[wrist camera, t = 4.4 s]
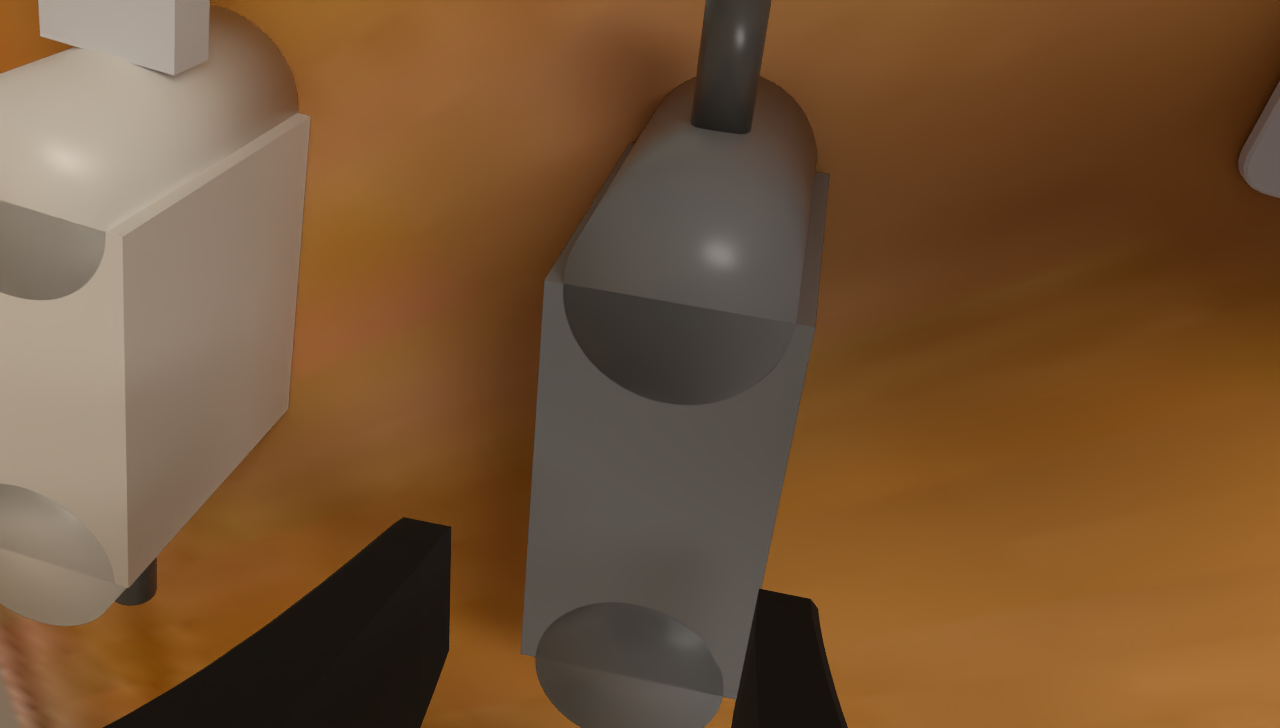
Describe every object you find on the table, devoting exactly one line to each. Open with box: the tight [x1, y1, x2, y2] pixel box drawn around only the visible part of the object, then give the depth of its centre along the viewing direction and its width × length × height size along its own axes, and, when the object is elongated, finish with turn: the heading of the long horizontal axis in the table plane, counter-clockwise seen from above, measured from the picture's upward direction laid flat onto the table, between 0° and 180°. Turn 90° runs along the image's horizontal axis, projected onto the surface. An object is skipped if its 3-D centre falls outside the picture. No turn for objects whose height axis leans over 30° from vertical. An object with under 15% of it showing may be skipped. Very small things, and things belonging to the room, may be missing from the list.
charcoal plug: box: [521, 0, 830, 728], centre depth 19 cm, size 14×4×6 cm, turn 174°
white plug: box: [0, 0, 311, 626], centre depth 20 cm, size 14×4×6 cm, turn 167°
